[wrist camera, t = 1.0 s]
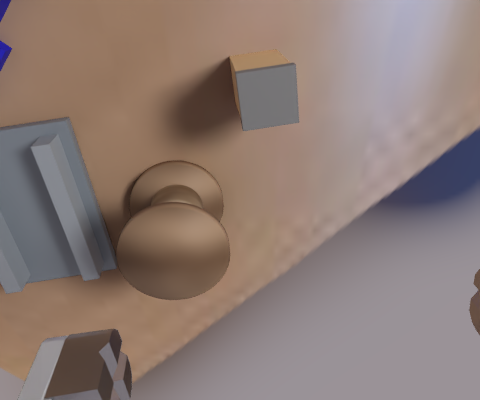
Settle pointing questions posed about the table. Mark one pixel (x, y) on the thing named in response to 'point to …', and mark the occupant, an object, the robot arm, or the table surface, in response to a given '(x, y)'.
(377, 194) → the table surface
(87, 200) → the grey channel bracket
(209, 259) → the door knob
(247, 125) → the grey and tan block
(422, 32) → the table surface
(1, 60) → the blue curved block
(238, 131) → the table surface
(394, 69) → the table surface
